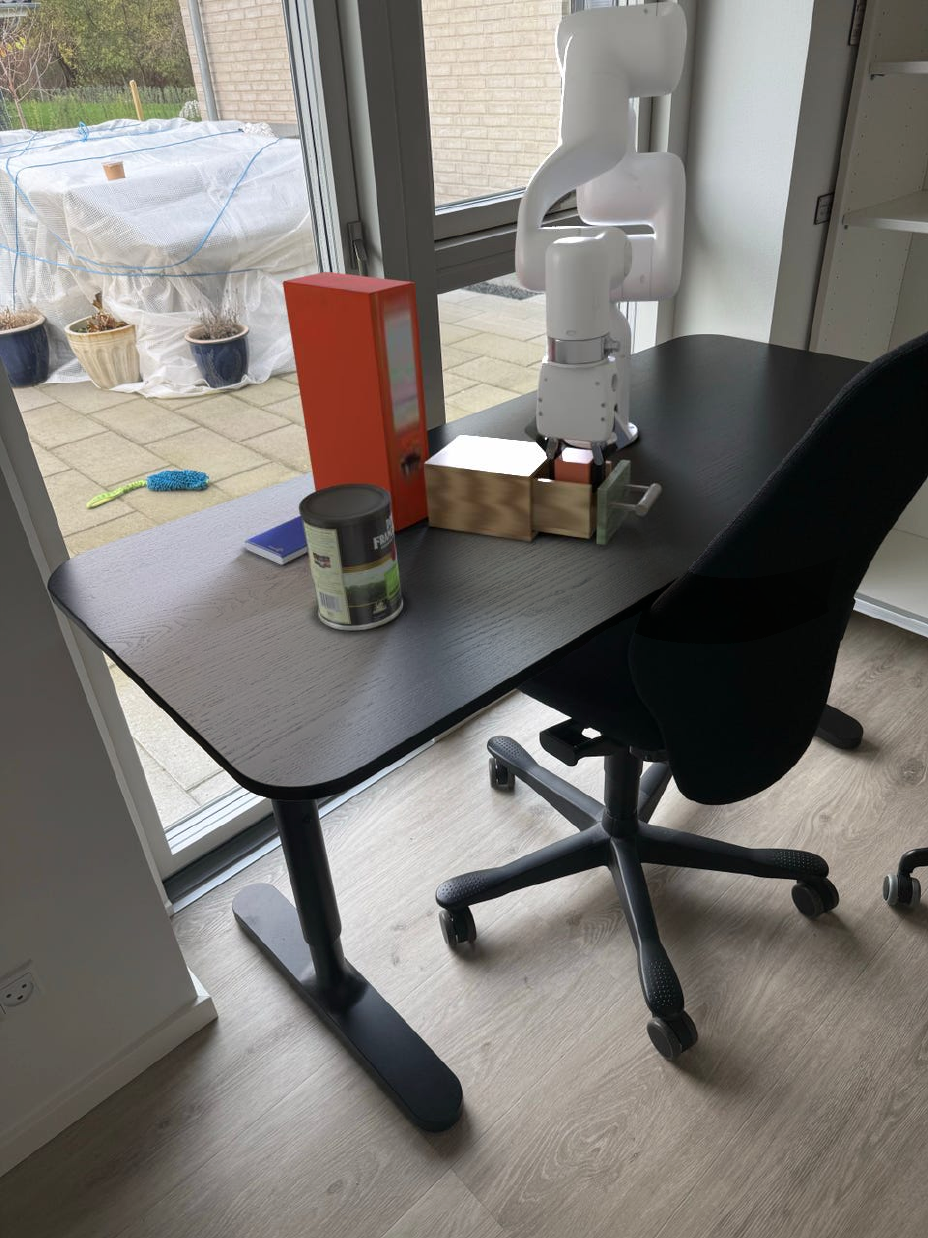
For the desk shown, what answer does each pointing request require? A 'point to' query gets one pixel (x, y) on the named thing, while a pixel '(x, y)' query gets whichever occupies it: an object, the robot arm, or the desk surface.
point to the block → (574, 466)
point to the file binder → (362, 385)
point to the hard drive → (280, 542)
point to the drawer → (586, 503)
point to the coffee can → (352, 555)
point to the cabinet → (483, 486)
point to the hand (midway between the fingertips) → (577, 485)
